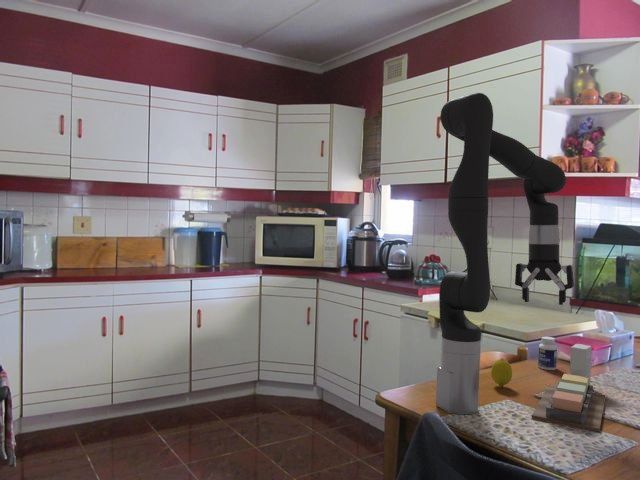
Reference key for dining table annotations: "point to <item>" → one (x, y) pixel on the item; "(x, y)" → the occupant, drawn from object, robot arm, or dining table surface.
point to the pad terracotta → (567, 401)
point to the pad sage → (572, 389)
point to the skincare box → (581, 361)
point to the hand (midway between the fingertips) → (543, 303)
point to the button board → (583, 420)
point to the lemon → (501, 372)
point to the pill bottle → (547, 354)
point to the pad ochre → (575, 380)
